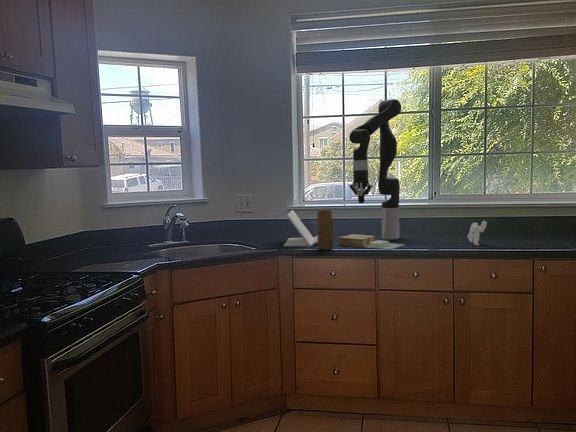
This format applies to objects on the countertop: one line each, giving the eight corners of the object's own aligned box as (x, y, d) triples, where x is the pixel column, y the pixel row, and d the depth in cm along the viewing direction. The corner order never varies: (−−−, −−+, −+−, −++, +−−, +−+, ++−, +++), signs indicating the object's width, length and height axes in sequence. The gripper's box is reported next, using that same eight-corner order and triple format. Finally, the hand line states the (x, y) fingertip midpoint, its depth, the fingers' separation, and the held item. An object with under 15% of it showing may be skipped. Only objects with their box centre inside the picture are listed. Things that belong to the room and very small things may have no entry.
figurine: (488, 244, 258) (488, 220, 256) (481, 246, 255) (481, 221, 253) (470, 242, 266) (471, 219, 265) (464, 243, 263) (464, 220, 262)
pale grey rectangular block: (388, 241, 264) (388, 244, 264) (378, 240, 268) (378, 244, 268) (379, 243, 257) (379, 247, 258) (369, 242, 261) (369, 246, 261)
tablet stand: (283, 246, 272) (282, 214, 270) (288, 239, 297) (287, 209, 295) (318, 246, 270) (317, 213, 268) (320, 239, 295) (319, 209, 293)
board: (352, 241, 281) (352, 234, 281) (375, 243, 272) (375, 235, 272) (338, 245, 270) (338, 237, 270) (361, 247, 261) (361, 239, 261)
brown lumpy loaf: (333, 250, 256) (332, 209, 253) (318, 250, 256) (317, 210, 254) (332, 246, 266) (331, 207, 264) (317, 247, 266) (316, 208, 264)
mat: (377, 242, 274) (377, 242, 274) (404, 245, 264) (404, 244, 264) (362, 247, 262) (362, 246, 262) (390, 249, 252) (390, 249, 252)
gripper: (375, 168, 264) (376, 202, 266) (353, 169, 272) (354, 202, 274) (368, 169, 258) (368, 204, 260) (345, 169, 266) (346, 203, 268)
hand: (361, 203), depth 267 cm, fingers closed
